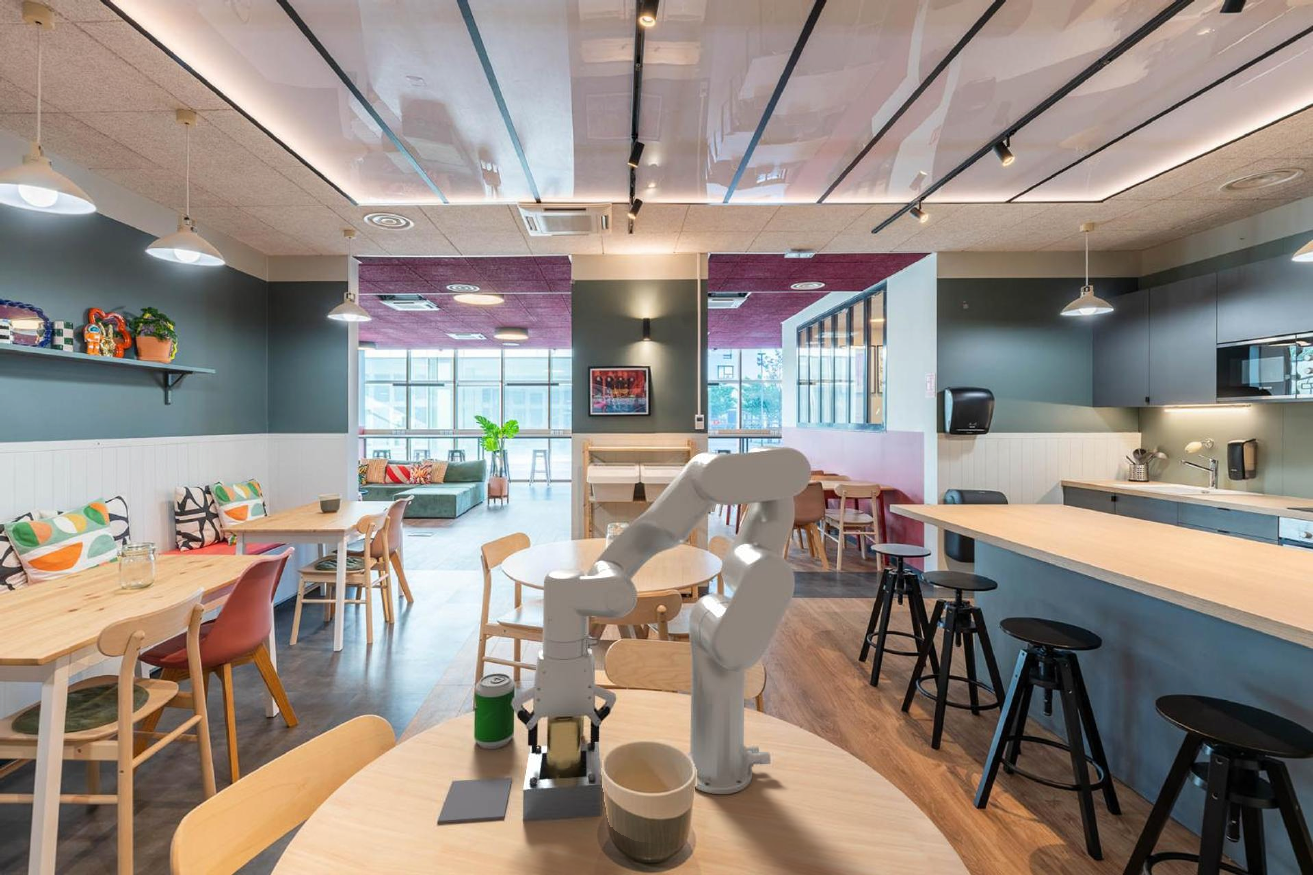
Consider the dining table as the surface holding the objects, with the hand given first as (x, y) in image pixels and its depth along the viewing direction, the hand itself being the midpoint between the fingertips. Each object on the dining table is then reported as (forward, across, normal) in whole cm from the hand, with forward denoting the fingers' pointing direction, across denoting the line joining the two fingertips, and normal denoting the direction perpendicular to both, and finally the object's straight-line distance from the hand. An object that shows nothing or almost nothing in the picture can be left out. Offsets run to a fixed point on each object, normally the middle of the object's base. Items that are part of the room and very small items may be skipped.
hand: (563, 747), depth 93 cm
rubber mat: (+8, +14, 0) cm, 16 cm away
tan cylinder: (+8, 0, 0) cm, 8 cm away
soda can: (+8, +14, -18) cm, 24 cm away
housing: (+8, 0, 0) cm, 8 cm away
